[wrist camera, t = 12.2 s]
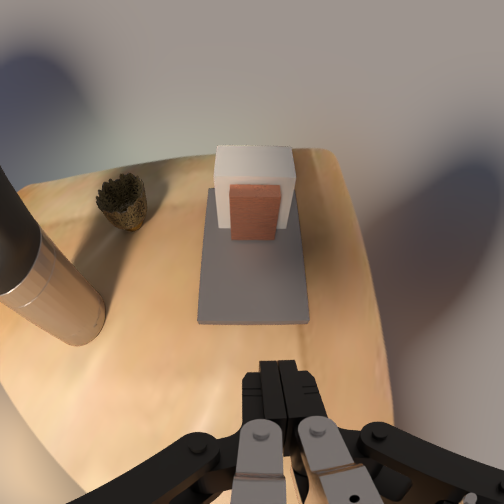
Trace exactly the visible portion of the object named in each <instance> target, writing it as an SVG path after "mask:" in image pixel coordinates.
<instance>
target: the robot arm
mask: <svg viewBox="0 0 504 504" xmlns="http://www.w3.org/2000/svg"><path fill="white" fill-rule="evenodd" d="M0 302H2V303H3V304H4V305H6V306H8V307H9V308H10V309H12V310H13V311H15V312H16V313H18V314H19V315H21V316H22V317H24V318H25V319H27V320H28V321H30V322H32V323H33V324H35V325H36V326H38V327H40V328H41V329H43V330H44V331H46V332H48V333H49V334H51V335H53V336H54V337H56V338H58V339H60V340H61V341H63V342H65V343H67V344H69V345H73V346H82V345H84V344H87V343H89V342H90V341H92V340H93V339H94V338H95V337H96V336H97V335H98V334H99V332H100V331H101V329H102V326H103V324H104V320H105V312H106V311H105V304H104V301H103V299H102V297H101V296H100V294H99V293H98V292H97V291H96V290H95V289H94V288H93V287H92V286H91V285H90V284H89V283H88V281H87V280H86V279H85V278H84V277H83V276H82V275H81V274H80V273H79V272H78V270H77V269H76V268H75V267H74V266H73V265H72V264H71V263H70V261H69V260H68V259H67V258H66V257H65V256H64V255H63V253H62V252H61V251H60V250H59V249H58V247H57V246H56V245H55V244H54V243H53V241H52V240H51V239H50V238H49V237H48V235H47V234H46V233H45V232H44V230H43V229H42V228H41V227H40V225H39V224H38V223H37V222H36V220H35V219H34V218H33V216H32V215H31V214H30V212H29V211H28V209H27V208H26V206H25V205H24V203H23V201H22V200H21V198H20V197H19V195H18V194H17V192H16V191H15V189H14V188H13V186H12V185H11V183H10V182H9V180H8V178H7V177H6V175H5V173H4V171H3V170H2V168H1V166H0ZM286 456H290V457H291V468H290V473H291V477H292V480H293V484H294V488H295V492H296V496H297V499H298V503H299V504H504V471H503V470H500V469H497V468H494V467H491V466H488V465H485V464H483V463H480V462H477V461H474V460H471V459H469V458H466V457H464V456H461V455H458V454H456V453H453V452H451V451H448V450H446V449H443V448H441V447H439V446H436V445H434V444H432V443H429V442H427V441H424V440H422V439H420V438H418V437H415V436H413V435H411V434H409V433H407V432H405V431H402V430H400V429H398V428H396V427H394V426H392V425H390V424H387V423H384V422H372V423H369V424H367V425H365V426H364V427H363V428H362V430H361V431H357V430H347V429H342V428H339V427H337V425H336V424H335V423H334V422H333V421H332V420H331V419H329V418H328V417H327V414H326V411H325V408H324V405H323V402H322V399H321V396H320V394H319V390H318V387H317V384H316V381H315V378H314V377H313V376H312V375H311V374H310V373H309V372H308V371H298V369H297V366H296V362H295V360H278V361H259V372H247V374H246V375H245V377H244V378H243V380H242V426H241V428H240V429H239V430H238V431H237V432H236V433H235V434H233V435H231V436H229V437H225V438H221V439H216V438H214V437H213V436H212V435H210V434H207V433H203V432H193V433H189V434H186V435H184V436H183V437H181V438H180V439H178V440H177V441H175V442H174V443H172V444H171V445H169V446H168V447H166V448H165V449H163V450H162V451H160V452H159V453H157V454H155V455H154V456H152V457H151V458H149V459H147V460H146V461H144V462H143V463H141V464H139V465H138V466H136V467H134V468H133V469H131V470H129V471H127V472H126V473H124V474H122V475H121V476H119V477H117V478H115V479H113V480H112V481H110V482H108V483H106V484H104V485H102V486H101V487H99V488H97V489H95V490H93V491H91V492H89V493H87V494H85V495H83V496H81V497H79V498H77V499H75V500H73V501H71V502H69V503H66V504H210V503H211V502H212V501H214V500H215V499H216V498H217V497H218V496H219V495H220V494H221V493H222V492H223V491H226V490H230V489H232V494H231V502H230V504H286V480H285V476H284V475H283V457H286ZM384 465H385V466H384ZM386 466H387V467H386ZM398 472H399V473H398ZM400 473H401V474H400Z"/></svg>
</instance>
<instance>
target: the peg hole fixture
mask: <svg viewBox="0 0 504 504" xmlns="http://www.w3.org/2000/svg"><path fill="white" fill-rule="evenodd" d="M295 181H296V173H295V167H294V161H293V155H292V149H291V147H286V146H285V147H284V146H253V145H248V146H247V145H245V146H244V145H218V146H217V151H216V160H215V169H214V185H215V188H209V190H208V199H207V208H206V218H205V228H204V239H203V250H202V261H201V274H200V287H199V301H198V317H197V321H198V323H199V324H213V325H286V324H307V323H308V322H309V309H308V298H307V288H306V278H305V268H304V259H303V250H302V241H301V233H300V225H299V217H298V209H297V202H296V195H295V189H294V187H295ZM230 184H242V185H280V191H281V201H280V207H279V214H278V220H277V226H276V232H275V239H274V240H231V225H230V204H229V190H230Z"/></svg>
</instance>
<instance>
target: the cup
mask: <svg viewBox="0 0 504 504" xmlns="http://www.w3.org/2000/svg"><path fill="white" fill-rule="evenodd" d="M98 194H99V196H100V197H98V196H96V199H97V201H96V203H97V205H98V208H99V209H100V210H101V211H102V212H103V214H104V215H105V216H106V218H107V219H108V220H109V221H110V222H111V223H112V224H113V225H114V226H115V227H117V228H120V229H125V230H127V231H129V232H133V231H136V230H138V229H139V228H140V227H141V226H142V224H143V219H144V217H145V215H146V212H147V201H146V195H145V190H144V184H143V182H142V180H141V181H140V179H139V177H138V176H137V177H135V176H134V175H133V174H131V173H128V174H127V175H124V174H120V179H119V180H117V179H116V180H115V181H112V179H109V183H108V182H104V183H103V185H102V191H101V190H98Z"/></svg>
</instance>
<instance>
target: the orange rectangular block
mask: <svg viewBox="0 0 504 504" xmlns="http://www.w3.org/2000/svg"><path fill="white" fill-rule="evenodd" d="M280 201H281V191H280V185H242V184H230V190H229V204H230V225H231V240H274V239H275V232H276V226H277V220H278V214H279V207H280Z"/></svg>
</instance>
